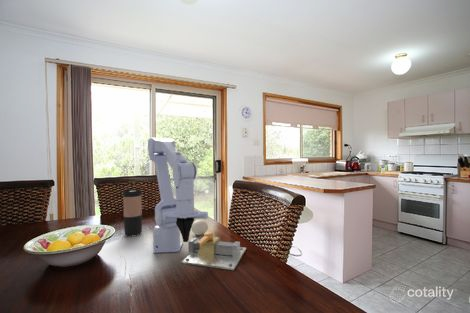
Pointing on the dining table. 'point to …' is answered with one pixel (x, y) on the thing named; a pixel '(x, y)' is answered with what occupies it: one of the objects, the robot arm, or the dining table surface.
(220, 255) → the mounting plate
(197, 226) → the baseball
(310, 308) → the dining table surface
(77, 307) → the dining table surface
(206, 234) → the lever
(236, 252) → the pipe valve
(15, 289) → the dining table surface
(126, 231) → the travel mug
